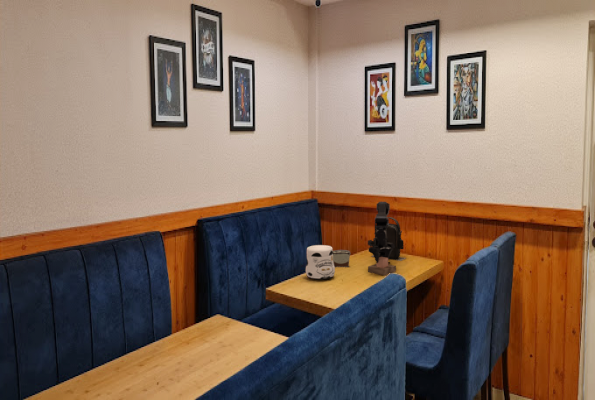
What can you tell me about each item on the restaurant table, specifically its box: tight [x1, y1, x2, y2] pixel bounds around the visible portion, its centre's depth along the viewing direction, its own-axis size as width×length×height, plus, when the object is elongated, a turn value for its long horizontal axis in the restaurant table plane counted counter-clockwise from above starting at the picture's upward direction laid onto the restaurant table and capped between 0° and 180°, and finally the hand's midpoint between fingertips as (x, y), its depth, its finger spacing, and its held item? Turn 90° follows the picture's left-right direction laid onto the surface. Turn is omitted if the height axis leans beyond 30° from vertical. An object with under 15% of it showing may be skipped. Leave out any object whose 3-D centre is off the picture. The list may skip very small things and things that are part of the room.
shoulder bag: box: [370, 216, 407, 262], centre depth 317 cm, size 23×9×28 cm, turn 52°
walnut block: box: [367, 263, 397, 276], centre depth 285 cm, size 12×12×4 cm
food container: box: [333, 249, 352, 268], centre depth 301 cm, size 12×6×10 cm, turn 84°
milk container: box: [305, 244, 336, 281], centre depth 276 cm, size 17×17×18 cm
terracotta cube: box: [375, 257, 389, 268], centre depth 284 cm, size 5×5×5 cm
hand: (381, 261), depth 284 cm, fingers open, 9 cm apart
